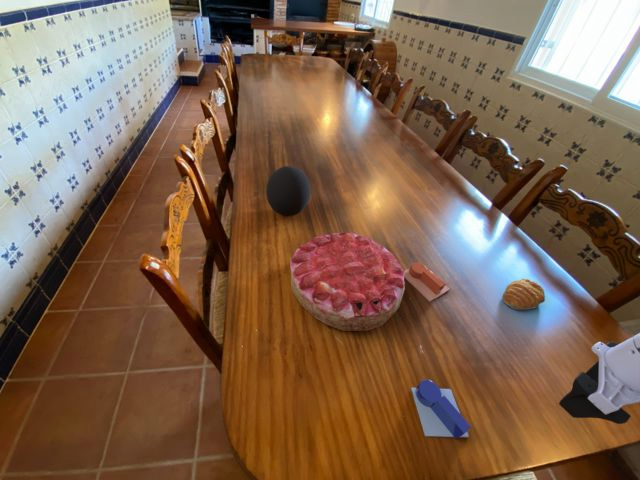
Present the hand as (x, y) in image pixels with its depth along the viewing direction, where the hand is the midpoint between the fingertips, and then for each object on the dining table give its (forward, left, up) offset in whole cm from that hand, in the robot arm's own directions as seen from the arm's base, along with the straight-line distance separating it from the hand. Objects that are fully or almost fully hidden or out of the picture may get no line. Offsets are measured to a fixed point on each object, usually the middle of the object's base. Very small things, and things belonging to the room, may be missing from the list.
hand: (579, 395), depth 44 cm
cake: (+37, +13, -10) cm, 40 cm away
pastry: (+15, -22, -10) cm, 28 cm away
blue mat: (+9, +15, -9) cm, 20 cm away
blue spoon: (+9, +15, -9) cm, 20 cm away
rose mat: (+29, -5, -9) cm, 31 cm away
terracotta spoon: (+29, -5, -9) cm, 31 cm away
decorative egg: (+66, +12, -10) cm, 68 cm away
